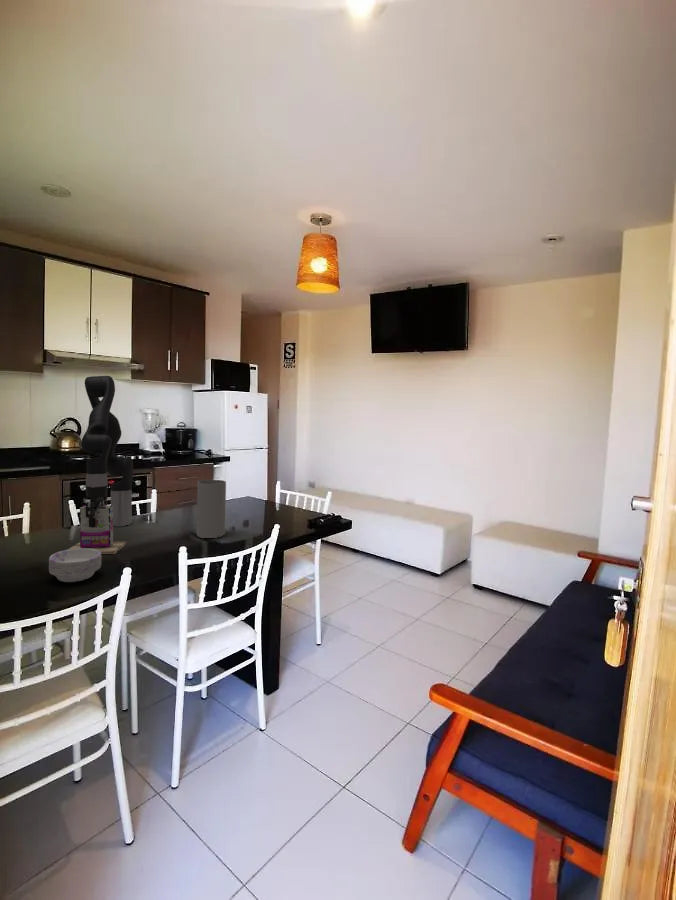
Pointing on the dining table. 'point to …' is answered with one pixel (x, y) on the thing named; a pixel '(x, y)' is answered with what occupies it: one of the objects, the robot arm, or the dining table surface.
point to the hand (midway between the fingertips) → (96, 524)
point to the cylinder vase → (211, 508)
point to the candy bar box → (97, 528)
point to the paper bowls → (74, 564)
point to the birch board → (106, 550)
